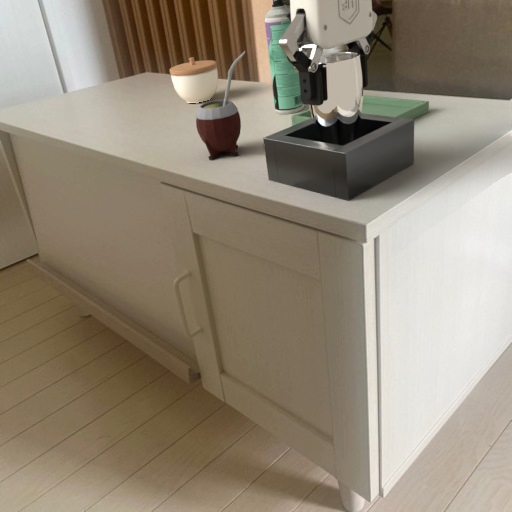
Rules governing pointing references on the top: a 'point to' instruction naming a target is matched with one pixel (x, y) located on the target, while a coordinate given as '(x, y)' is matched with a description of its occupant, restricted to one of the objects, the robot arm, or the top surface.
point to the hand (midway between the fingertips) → (335, 94)
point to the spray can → (281, 62)
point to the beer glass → (339, 98)
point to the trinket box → (195, 80)
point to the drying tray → (381, 108)
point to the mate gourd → (220, 123)
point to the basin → (340, 156)
